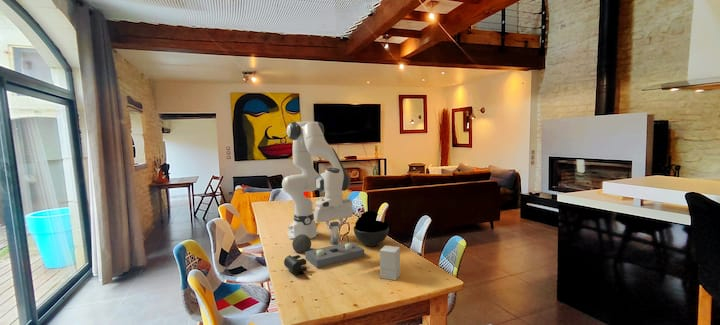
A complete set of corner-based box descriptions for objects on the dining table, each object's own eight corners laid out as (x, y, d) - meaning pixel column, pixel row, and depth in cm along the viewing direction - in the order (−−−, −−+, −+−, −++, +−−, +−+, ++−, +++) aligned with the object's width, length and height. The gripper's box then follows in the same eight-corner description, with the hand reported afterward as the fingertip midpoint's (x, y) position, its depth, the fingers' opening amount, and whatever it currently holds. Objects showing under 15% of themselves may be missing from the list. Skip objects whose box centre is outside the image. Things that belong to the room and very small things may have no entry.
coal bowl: (381, 237, 200) (380, 207, 198) (394, 248, 181) (394, 214, 179) (349, 241, 194) (349, 210, 192) (360, 252, 175) (359, 218, 173)
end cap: (284, 270, 154) (283, 256, 153) (298, 266, 158) (297, 253, 157) (292, 277, 145) (292, 263, 145) (307, 273, 150) (306, 259, 149)
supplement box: (400, 274, 148) (400, 246, 147) (395, 280, 141) (395, 252, 140) (385, 271, 151) (385, 244, 150) (379, 278, 144) (379, 250, 143)
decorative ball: (297, 249, 182) (296, 231, 181) (314, 250, 180) (313, 232, 179) (289, 255, 172) (288, 237, 171) (307, 256, 170) (307, 238, 169)
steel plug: (328, 243, 165) (328, 222, 164) (336, 241, 167) (336, 221, 166) (332, 245, 161) (332, 224, 160) (340, 244, 164) (340, 223, 163)
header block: (305, 261, 164) (305, 248, 163) (350, 250, 178) (350, 239, 177) (317, 271, 152) (316, 257, 152) (364, 259, 166) (364, 246, 165)
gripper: (348, 197, 171) (349, 223, 172) (312, 202, 160) (313, 229, 161) (355, 199, 165) (355, 226, 166) (317, 204, 154) (318, 233, 156)
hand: (334, 228), depth 164 cm, fingers closed on steel plug, 4 cm apart
